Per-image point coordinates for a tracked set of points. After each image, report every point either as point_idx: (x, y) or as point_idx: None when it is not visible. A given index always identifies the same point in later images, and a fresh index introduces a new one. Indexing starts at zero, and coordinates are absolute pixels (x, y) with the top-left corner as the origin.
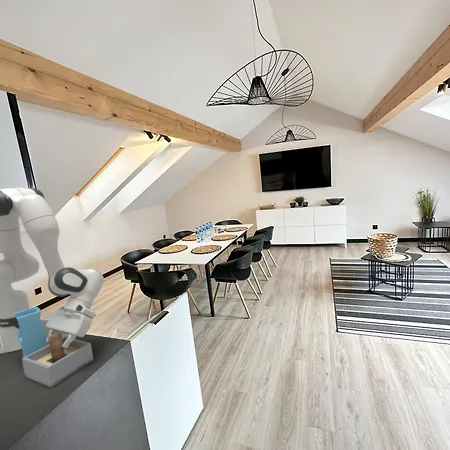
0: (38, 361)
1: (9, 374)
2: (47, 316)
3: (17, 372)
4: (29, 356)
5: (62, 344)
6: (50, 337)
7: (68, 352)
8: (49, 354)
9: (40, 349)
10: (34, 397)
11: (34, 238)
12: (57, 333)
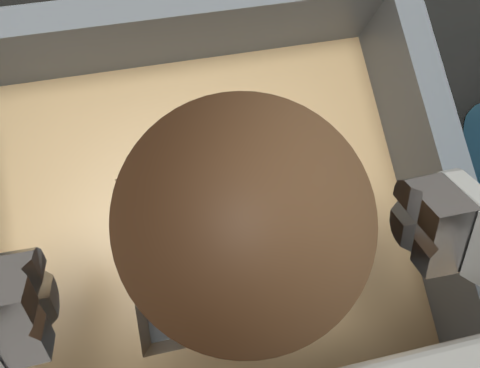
0: (340, 111)
1: (477, 11)
2: None
3: (456, 48)
4: (396, 20)
5: (11, 263)
6: (223, 117)
7: (239, 362)
8: (388, 222)
9: (451, 136)
10: (3, 5)
11: None
12: (292, 296)
